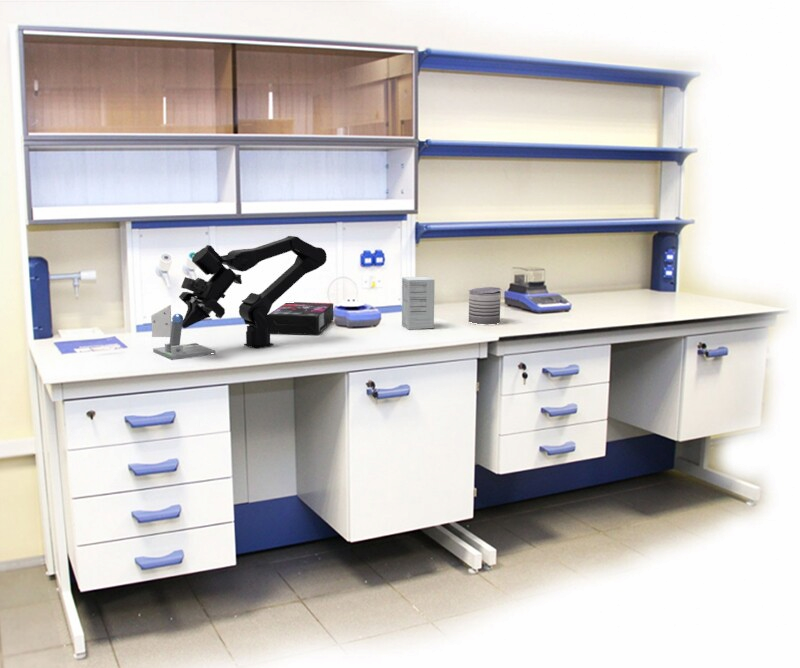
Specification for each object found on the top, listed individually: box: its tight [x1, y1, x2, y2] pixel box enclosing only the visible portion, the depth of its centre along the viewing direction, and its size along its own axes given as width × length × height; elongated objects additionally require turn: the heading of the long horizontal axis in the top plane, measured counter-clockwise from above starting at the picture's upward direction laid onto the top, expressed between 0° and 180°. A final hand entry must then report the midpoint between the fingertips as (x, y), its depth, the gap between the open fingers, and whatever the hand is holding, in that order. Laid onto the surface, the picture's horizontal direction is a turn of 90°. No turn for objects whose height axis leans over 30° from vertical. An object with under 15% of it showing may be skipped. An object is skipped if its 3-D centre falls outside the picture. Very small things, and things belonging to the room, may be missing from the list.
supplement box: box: [401, 276, 435, 330], centre depth 287 cm, size 10×9×17 cm
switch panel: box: [152, 342, 216, 360], centre depth 244 cm, size 13×13×4 cm
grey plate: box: [150, 304, 172, 338], centre depth 269 cm, size 4×10×9 cm, turn 92°
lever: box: [168, 313, 184, 350], centre depth 238 cm, size 3×3×10 cm
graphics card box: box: [268, 301, 335, 336], centre depth 286 cm, size 17×7×27 cm
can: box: [468, 286, 502, 325], centre depth 298 cm, size 11×11×12 cm
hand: (182, 327), depth 239 cm, fingers closed
